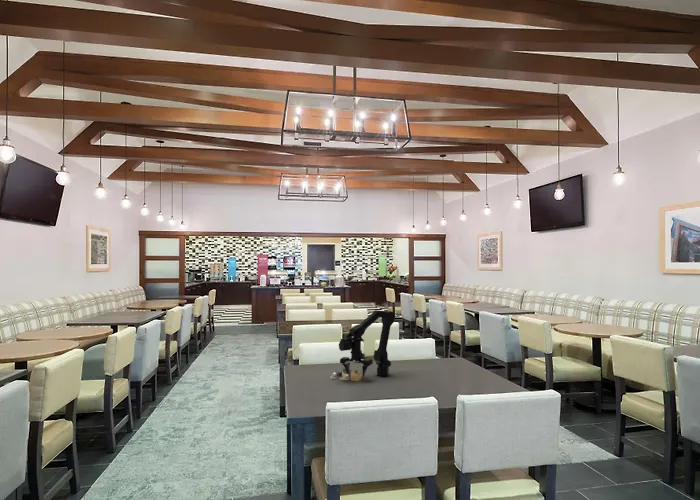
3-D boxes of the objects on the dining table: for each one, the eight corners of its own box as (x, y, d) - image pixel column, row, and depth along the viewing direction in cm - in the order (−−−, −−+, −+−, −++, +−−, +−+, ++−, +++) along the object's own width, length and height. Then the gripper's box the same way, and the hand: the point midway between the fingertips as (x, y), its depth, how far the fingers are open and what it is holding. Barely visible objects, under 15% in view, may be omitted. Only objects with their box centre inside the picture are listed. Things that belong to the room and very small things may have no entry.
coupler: (361, 379, 252) (361, 369, 253) (358, 381, 248) (358, 371, 249) (354, 378, 254) (354, 369, 255) (351, 380, 250) (351, 370, 250)
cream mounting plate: (358, 374, 265) (358, 367, 265) (348, 380, 250) (348, 373, 250) (341, 372, 269) (341, 366, 270) (330, 378, 255) (330, 371, 255)
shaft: (336, 375, 258) (336, 370, 258) (342, 376, 255) (342, 371, 255) (329, 376, 254) (329, 371, 255) (335, 378, 251) (335, 373, 251)
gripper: (375, 347, 256) (375, 374, 255) (347, 345, 263) (347, 371, 263) (369, 351, 246) (369, 378, 245) (339, 349, 253) (339, 375, 252)
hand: (356, 376), depth 251 cm, fingers open, 9 cm apart
